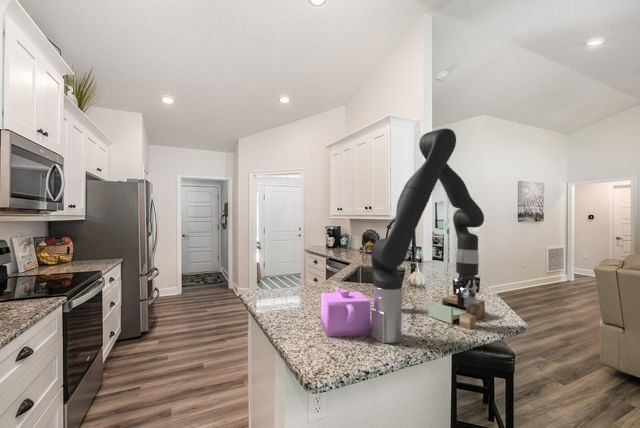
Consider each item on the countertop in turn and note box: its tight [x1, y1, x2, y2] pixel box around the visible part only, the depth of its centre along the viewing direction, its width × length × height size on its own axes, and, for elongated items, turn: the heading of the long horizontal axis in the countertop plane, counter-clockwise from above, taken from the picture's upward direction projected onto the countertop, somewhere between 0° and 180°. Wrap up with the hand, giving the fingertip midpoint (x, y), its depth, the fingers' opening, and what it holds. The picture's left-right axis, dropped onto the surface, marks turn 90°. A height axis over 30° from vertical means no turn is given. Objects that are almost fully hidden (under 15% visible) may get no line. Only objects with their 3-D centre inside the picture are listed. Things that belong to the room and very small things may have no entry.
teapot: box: [320, 286, 371, 338], centre depth 106 cm, size 15×25×14 cm, turn 9°
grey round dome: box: [464, 294, 477, 305], centre depth 108 cm, size 6×6×2 cm
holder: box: [441, 295, 486, 320], centre depth 122 cm, size 12×12×6 cm
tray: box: [428, 301, 466, 325], centre depth 117 cm, size 12×10×6 cm
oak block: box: [459, 314, 477, 330], centre depth 108 cm, size 4×4×4 cm
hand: (466, 305), depth 108 cm, fingers closed on grey round dome, 6 cm apart
